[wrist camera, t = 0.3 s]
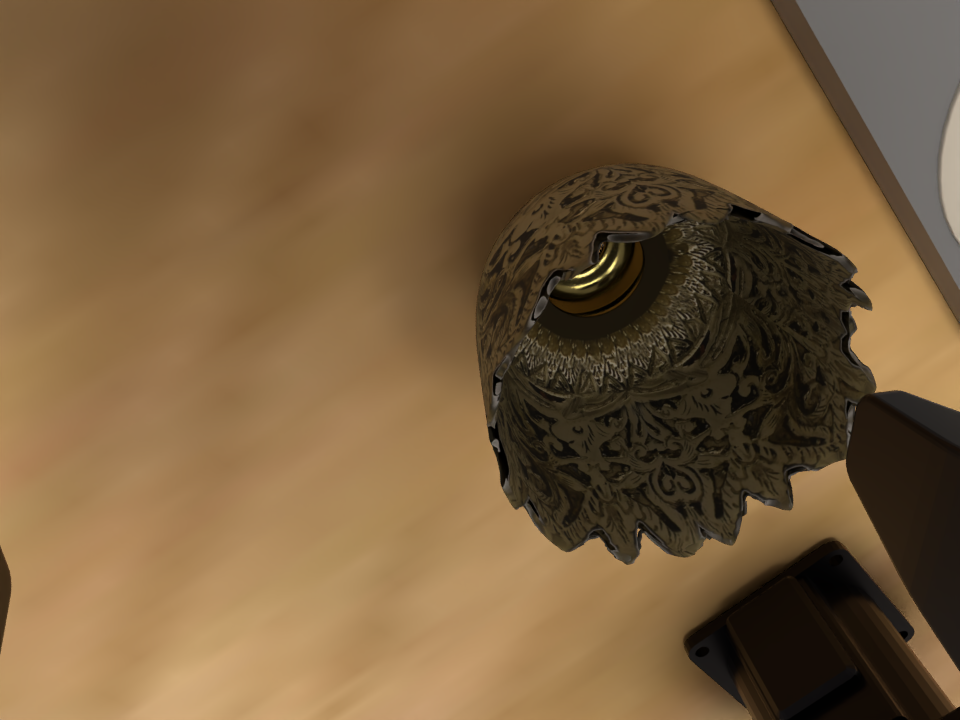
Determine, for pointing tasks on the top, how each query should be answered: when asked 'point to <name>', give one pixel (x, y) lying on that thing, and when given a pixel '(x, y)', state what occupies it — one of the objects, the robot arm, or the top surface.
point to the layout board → (896, 108)
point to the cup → (661, 359)
